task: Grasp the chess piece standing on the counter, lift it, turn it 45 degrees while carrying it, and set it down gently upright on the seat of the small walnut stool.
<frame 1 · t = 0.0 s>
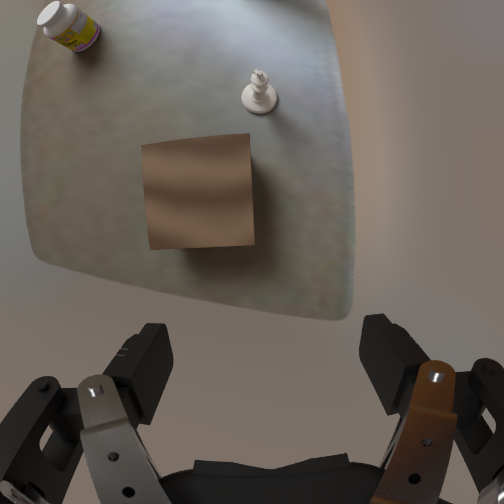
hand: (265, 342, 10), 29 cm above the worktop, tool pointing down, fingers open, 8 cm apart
chess piece: (259, 98, 34), on the worktop
walnut stool: (206, 190, 38), on the worktop
supplement bottle: (86, 38, 30), on the worktop
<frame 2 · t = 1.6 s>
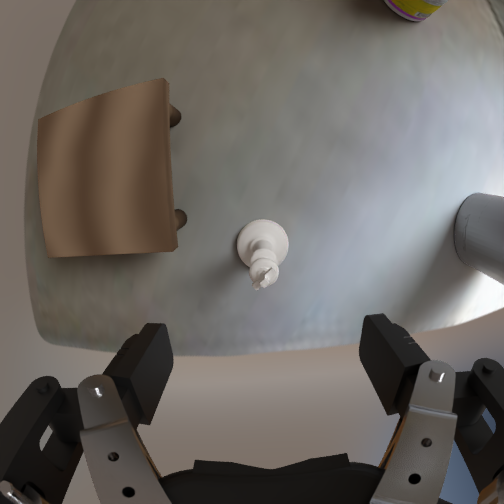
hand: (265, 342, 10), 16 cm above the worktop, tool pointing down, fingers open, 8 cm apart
chess piece: (262, 244, 27), on the worktop
walnut stool: (128, 173, 25), on the worktop
supplement bottle: (402, 4, 18), on the worktop
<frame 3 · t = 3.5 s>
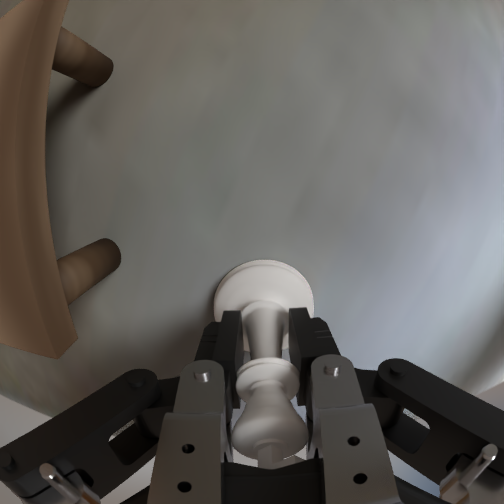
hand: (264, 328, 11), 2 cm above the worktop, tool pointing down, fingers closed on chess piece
chess piece: (263, 305, 14), on the worktop, touching gripper
walnut stool: (34, 176, 12), on the worktop
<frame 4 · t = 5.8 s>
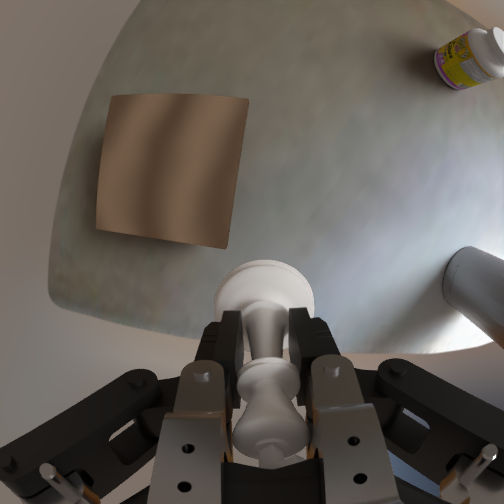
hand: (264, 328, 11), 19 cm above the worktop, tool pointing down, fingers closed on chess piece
chess piece: (264, 305, 14), point 17 cm above the worktop, touching gripper
walnut stool: (183, 167, 28), on the worktop
supplement bottle: (449, 70, 23), on the worktop
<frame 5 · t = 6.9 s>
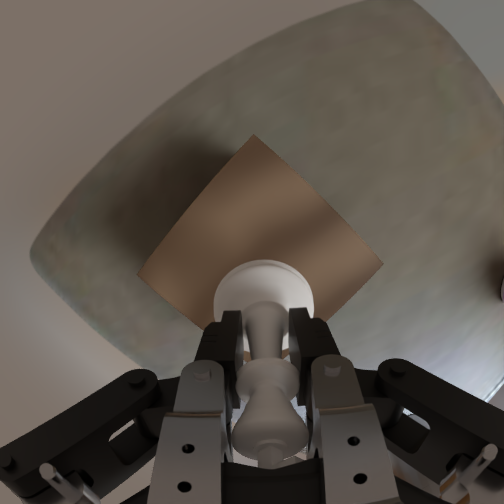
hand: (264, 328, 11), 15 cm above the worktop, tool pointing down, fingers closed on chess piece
chess piece: (263, 305, 14), point 13 cm above the worktop, touching gripper
walnut stool: (259, 246, 26), on the worktop
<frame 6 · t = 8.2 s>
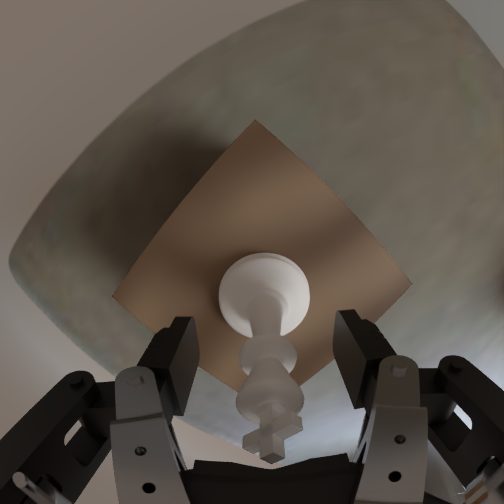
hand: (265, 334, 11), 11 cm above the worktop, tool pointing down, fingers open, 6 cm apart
chess piece: (264, 294, 15), point 7 cm above the worktop, touching walnut stool
walnut stool: (261, 258, 22), on the worktop
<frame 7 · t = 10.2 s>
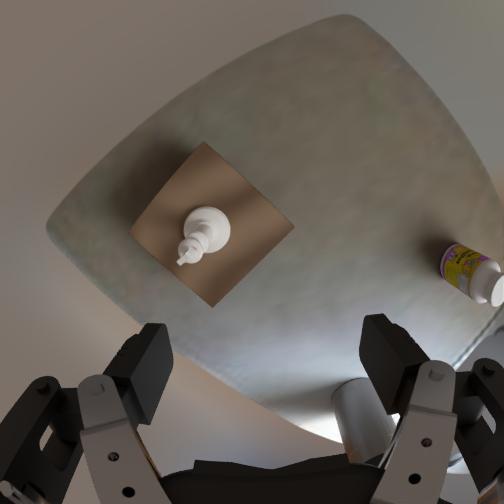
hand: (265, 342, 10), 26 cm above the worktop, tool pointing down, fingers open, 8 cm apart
chess piece: (207, 229, 29), point 7 cm above the worktop, touching walnut stool
walnut stool: (215, 218, 35), on the worktop
supplement bottle: (451, 261, 37), on the worktop
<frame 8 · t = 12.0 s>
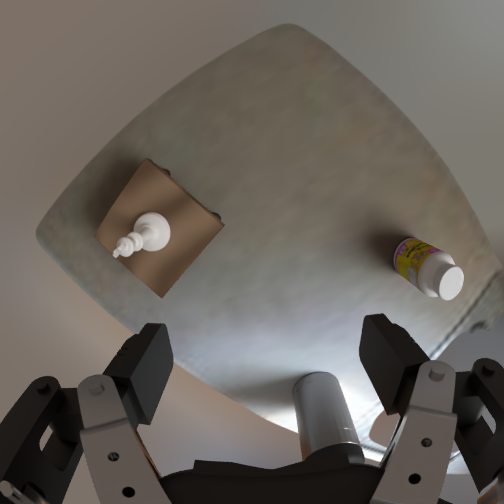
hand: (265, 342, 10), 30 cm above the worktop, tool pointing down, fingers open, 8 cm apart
chess piece: (152, 231, 33), point 7 cm above the worktop, touching walnut stool
walnut stool: (168, 222, 40), on the worktop
supplement bottle: (407, 256, 41), on the worktop
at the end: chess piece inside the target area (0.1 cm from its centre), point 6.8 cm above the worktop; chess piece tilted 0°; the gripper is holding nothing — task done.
